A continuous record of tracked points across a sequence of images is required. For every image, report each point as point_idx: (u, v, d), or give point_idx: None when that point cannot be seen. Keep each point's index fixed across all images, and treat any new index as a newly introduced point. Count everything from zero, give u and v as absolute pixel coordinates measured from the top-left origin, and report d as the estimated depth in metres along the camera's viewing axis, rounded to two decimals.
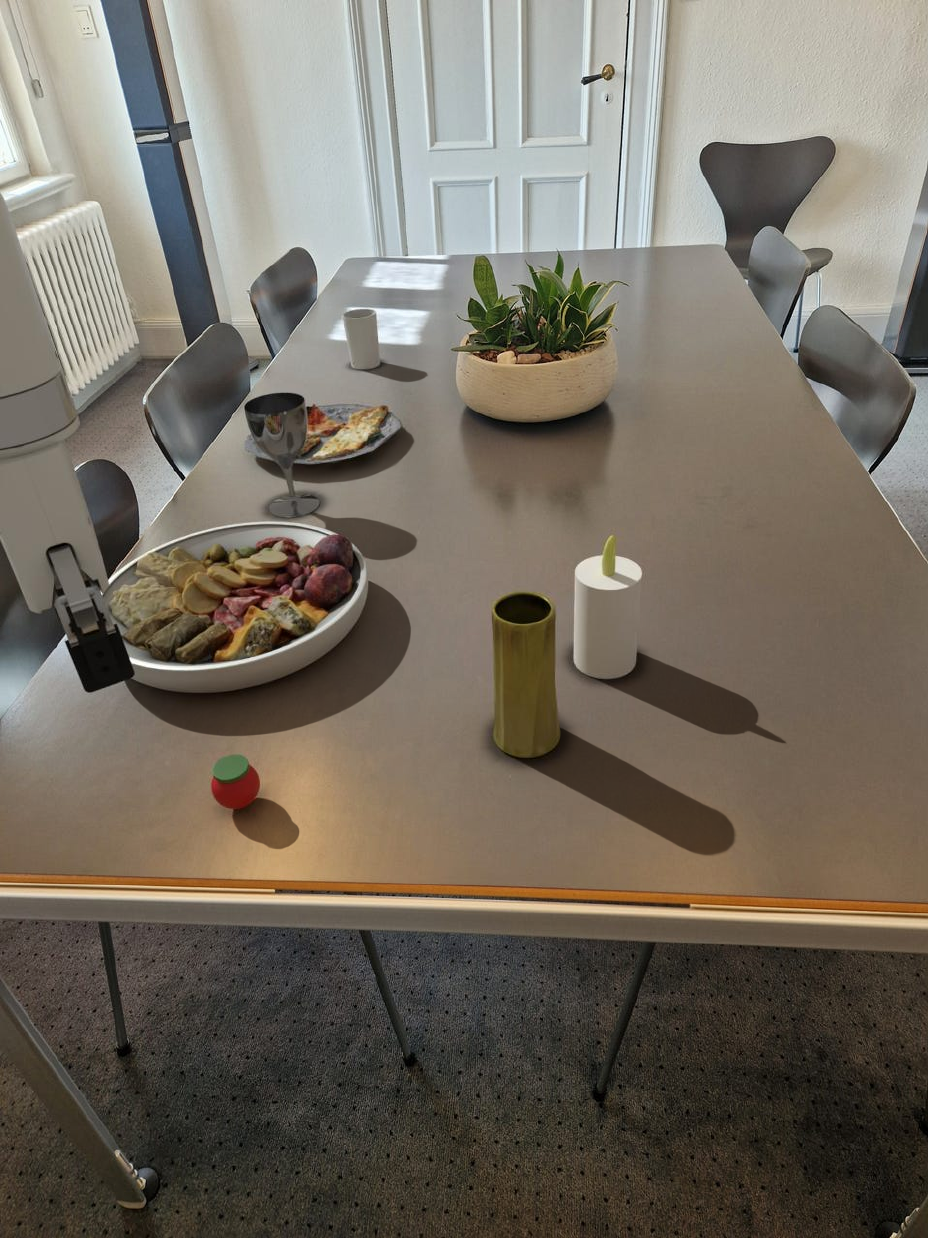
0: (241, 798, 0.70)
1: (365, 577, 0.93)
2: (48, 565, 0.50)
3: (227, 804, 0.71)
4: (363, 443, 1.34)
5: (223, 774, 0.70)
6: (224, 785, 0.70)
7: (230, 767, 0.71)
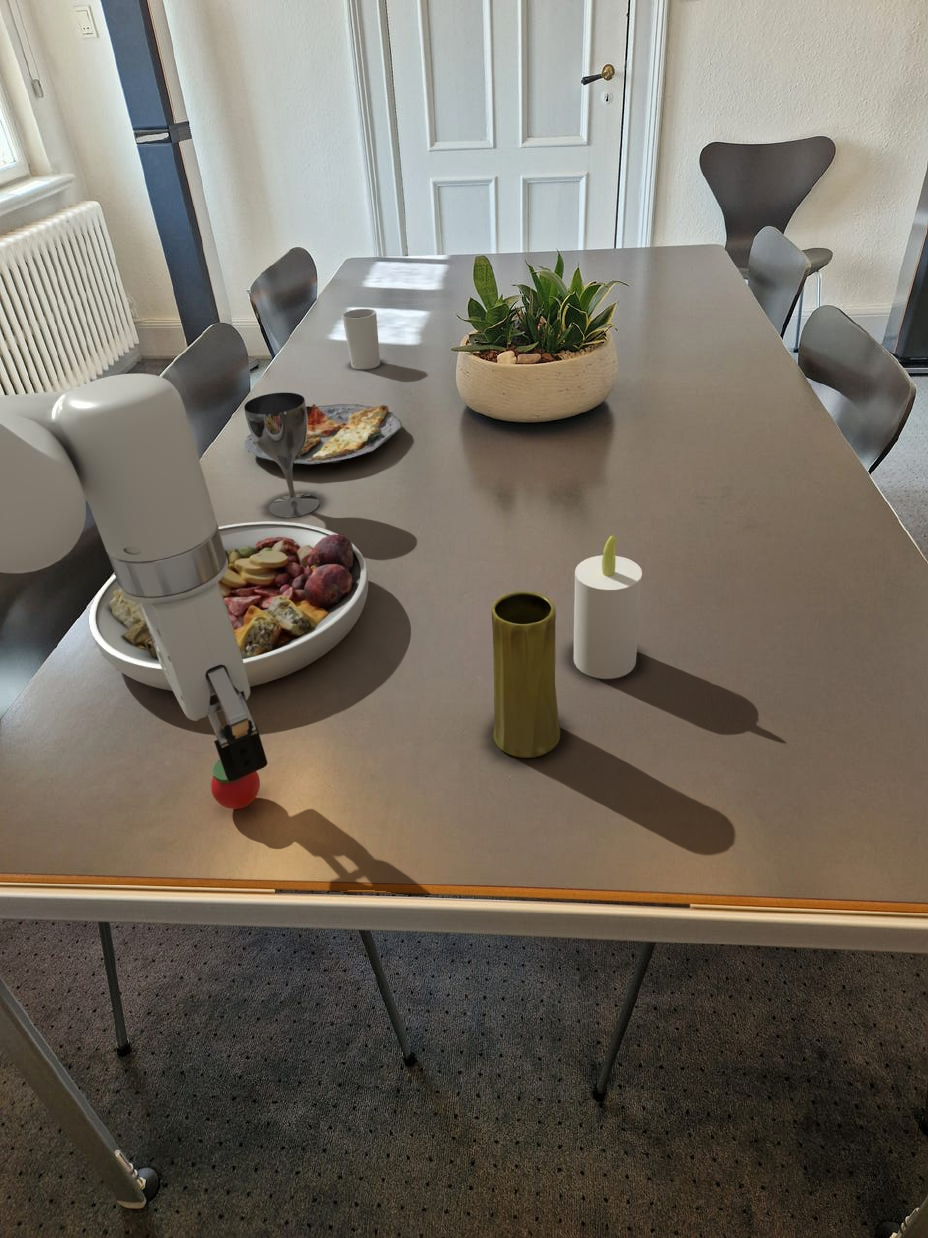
0: (241, 798, 0.70)
1: (365, 577, 0.93)
2: (206, 683, 0.60)
3: (227, 804, 0.71)
4: (363, 443, 1.34)
5: (223, 774, 0.70)
6: (224, 785, 0.70)
7: None
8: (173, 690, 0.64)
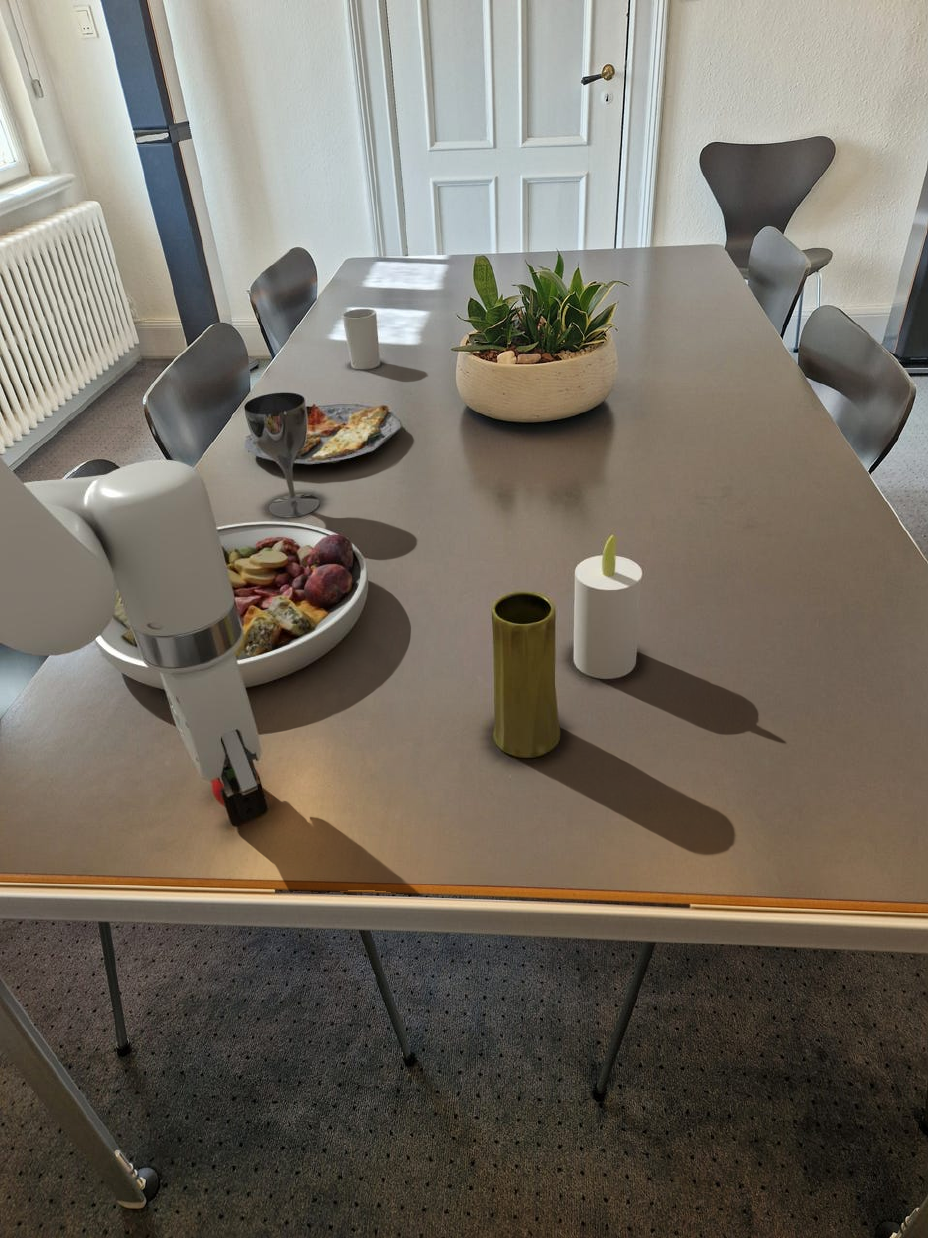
0: None
1: (365, 577, 0.93)
2: (221, 747, 0.63)
3: None
4: (363, 443, 1.34)
5: None
6: None
7: None
8: (188, 750, 0.67)
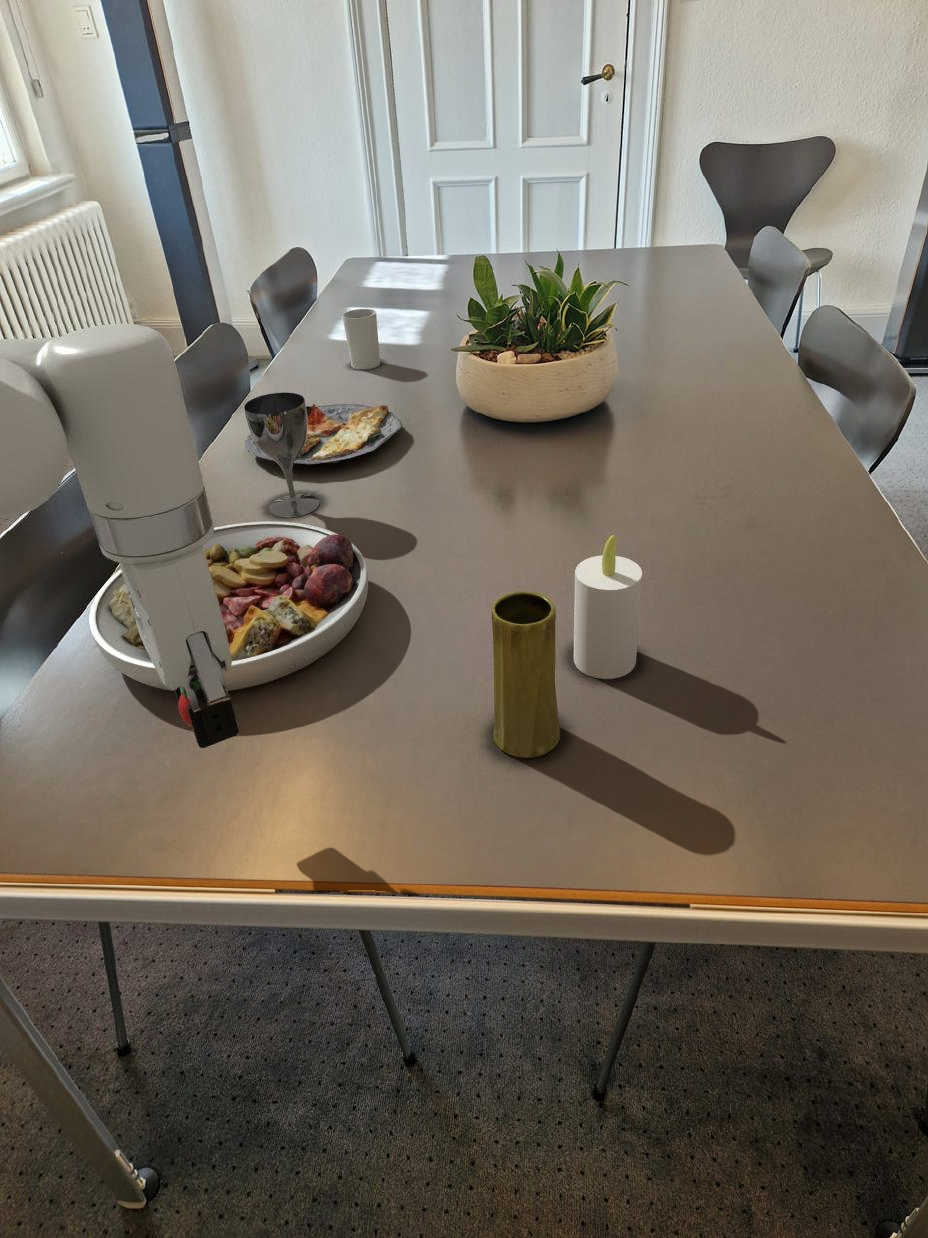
0: None
1: (365, 577, 0.93)
2: (187, 650, 0.58)
3: None
4: (363, 443, 1.34)
5: None
6: None
7: (200, 684, 0.66)
8: (152, 658, 0.61)
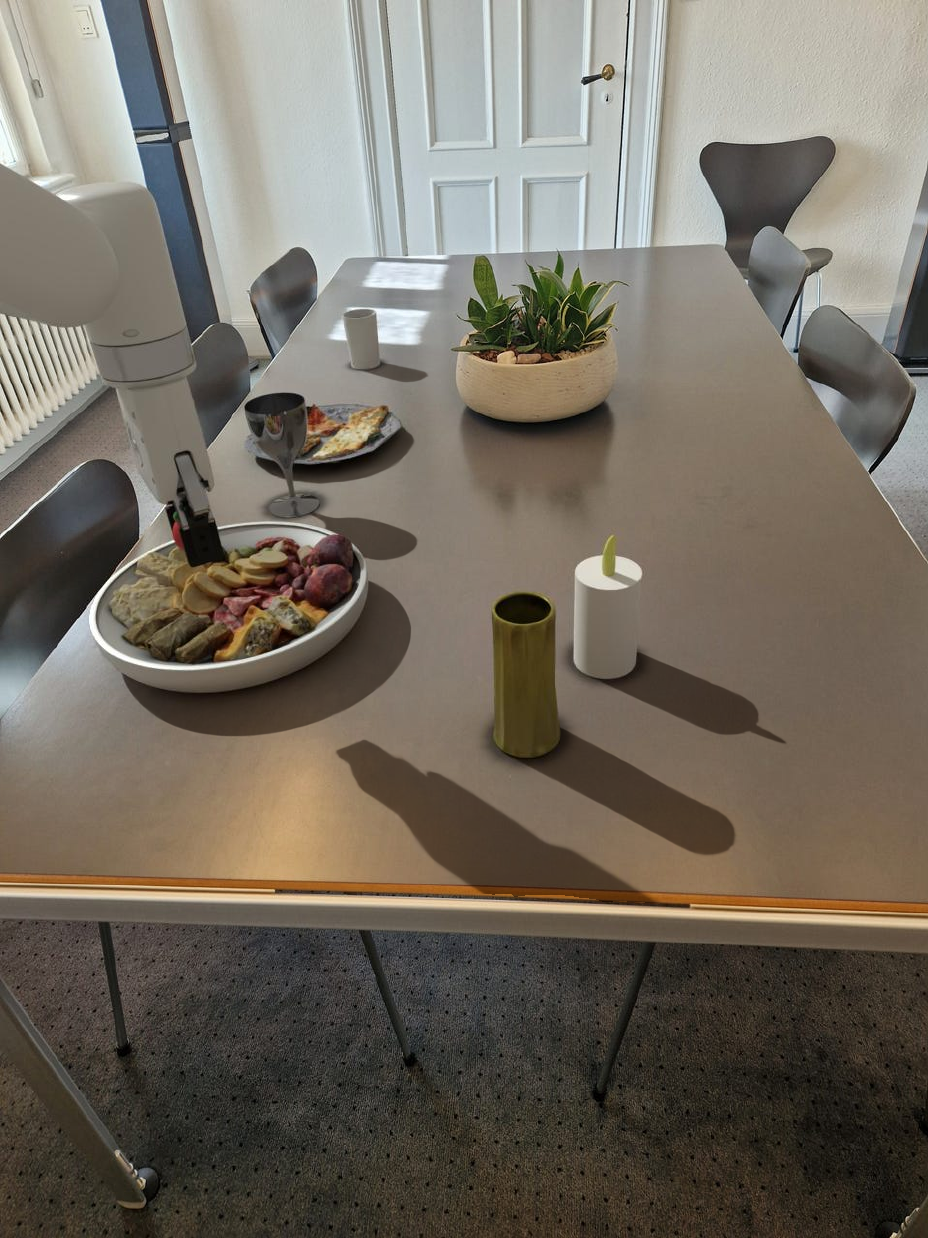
0: None
1: (365, 577, 0.93)
2: (175, 466, 0.69)
3: None
4: (363, 443, 1.34)
5: None
6: None
7: None
8: (147, 483, 0.73)
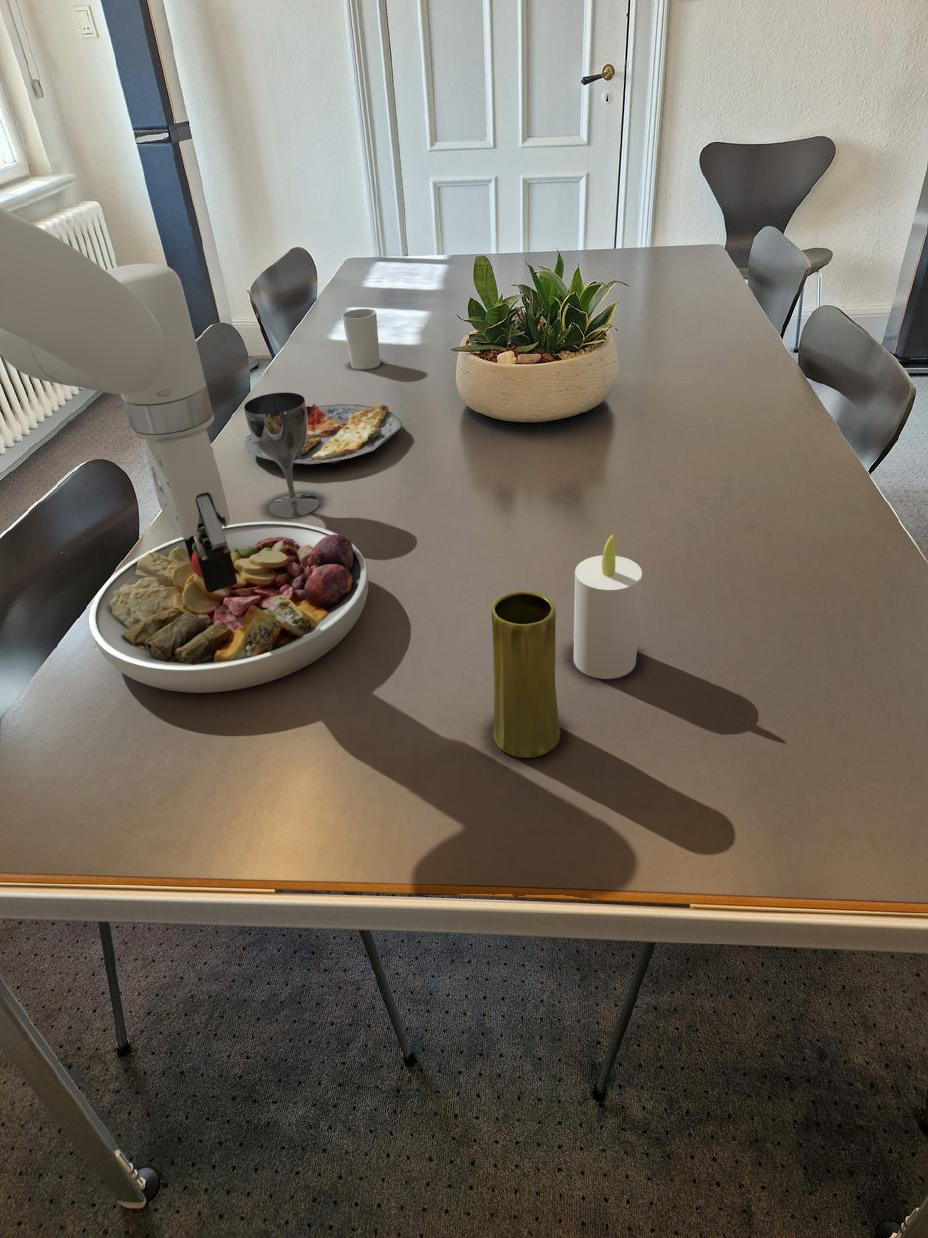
0: None
1: (365, 577, 0.93)
2: (196, 506, 0.79)
3: None
4: (363, 443, 1.34)
5: None
6: None
7: None
8: (170, 519, 0.82)
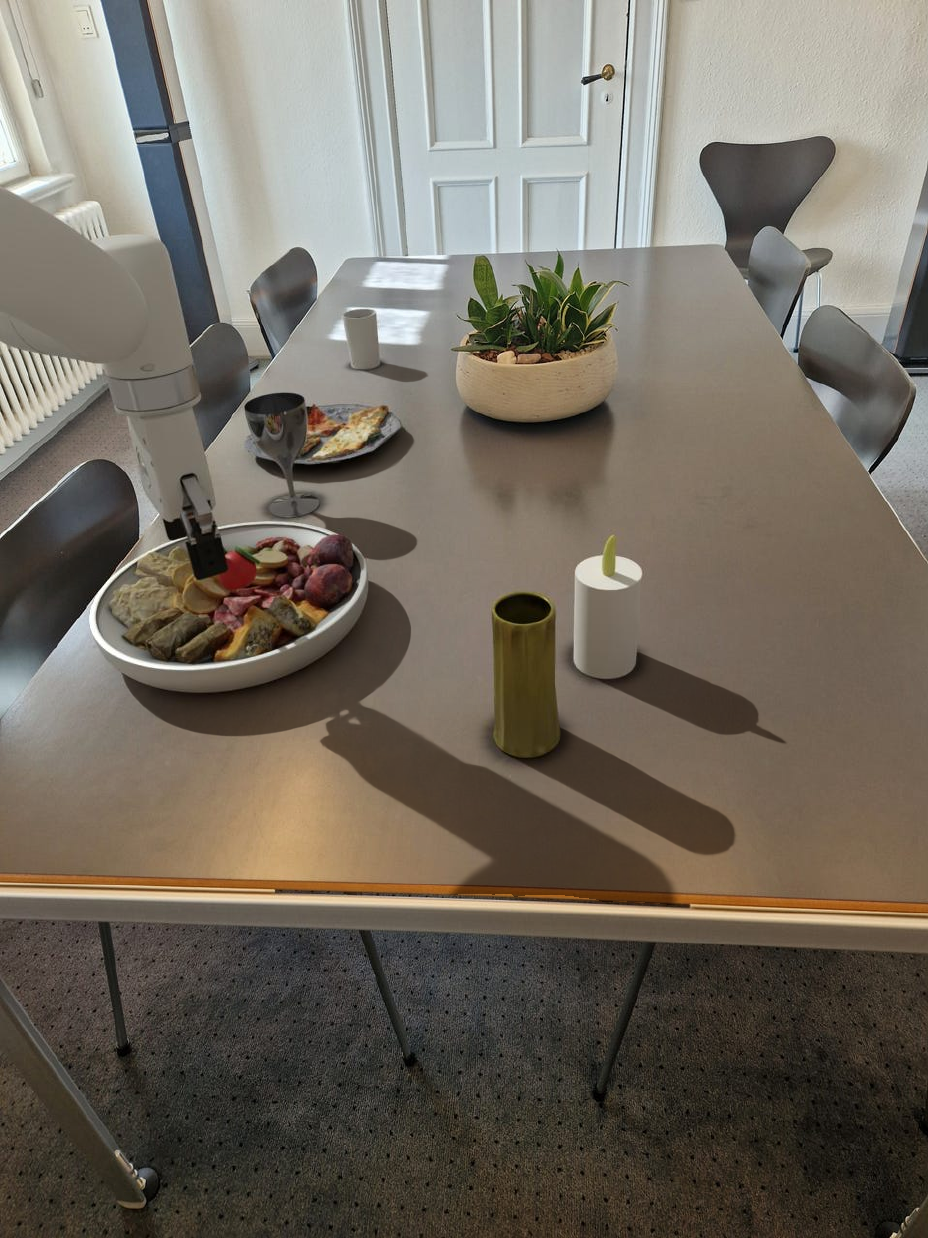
0: (251, 578, 0.89)
1: (365, 577, 0.93)
2: (180, 487, 0.76)
3: (239, 577, 0.88)
4: (363, 443, 1.34)
5: (249, 554, 0.89)
6: (247, 561, 0.88)
7: None
8: (154, 502, 0.80)
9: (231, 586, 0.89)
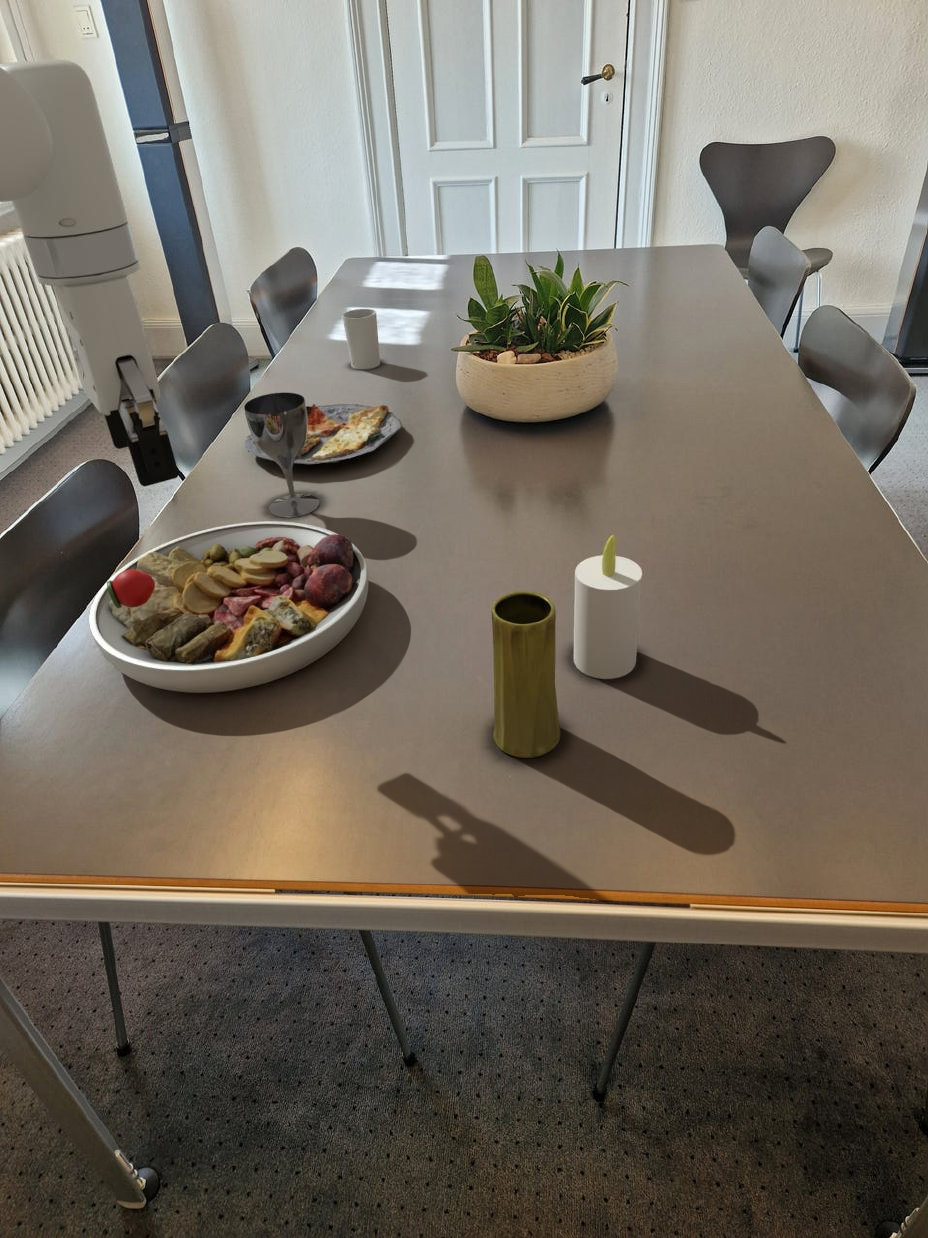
0: (134, 601, 0.88)
1: (365, 577, 0.93)
2: (117, 372, 0.65)
3: (142, 604, 0.90)
4: (363, 443, 1.34)
5: None
6: (124, 605, 0.89)
7: None
8: (90, 394, 0.69)
9: (151, 592, 0.90)
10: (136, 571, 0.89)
